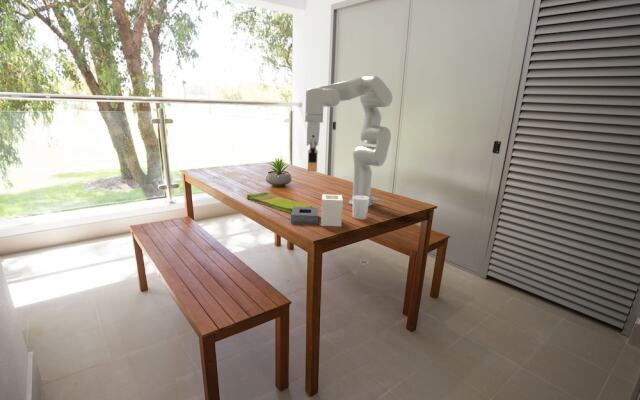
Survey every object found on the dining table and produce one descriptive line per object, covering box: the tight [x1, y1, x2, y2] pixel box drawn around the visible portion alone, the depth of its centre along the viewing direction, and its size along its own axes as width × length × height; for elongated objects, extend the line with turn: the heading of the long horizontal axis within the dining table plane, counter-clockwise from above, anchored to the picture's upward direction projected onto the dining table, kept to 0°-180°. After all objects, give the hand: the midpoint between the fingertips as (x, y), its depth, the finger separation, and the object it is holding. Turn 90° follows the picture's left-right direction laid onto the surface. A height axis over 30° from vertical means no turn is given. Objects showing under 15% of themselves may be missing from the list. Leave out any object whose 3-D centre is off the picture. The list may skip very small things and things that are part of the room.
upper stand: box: [320, 193, 344, 227], centre depth 148 cm, size 9×9×12 cm
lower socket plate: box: [290, 207, 319, 225], centre depth 152 cm, size 12×12×4 cm
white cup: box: [351, 195, 369, 220], centre depth 156 cm, size 8×8×10 cm
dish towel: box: [246, 191, 313, 215], centre depth 175 cm, size 15×36×3 cm, turn 50°
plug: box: [307, 149, 319, 173], centre depth 144 cm, size 4×4×9 cm
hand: (312, 161), depth 144 cm, fingers closed on plug, 4 cm apart
